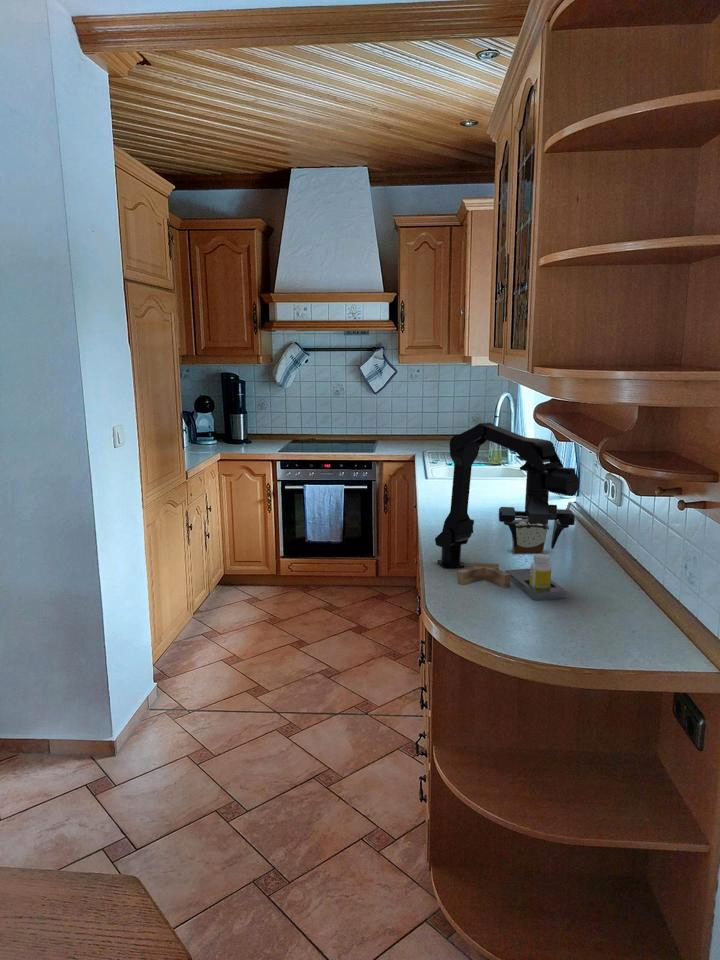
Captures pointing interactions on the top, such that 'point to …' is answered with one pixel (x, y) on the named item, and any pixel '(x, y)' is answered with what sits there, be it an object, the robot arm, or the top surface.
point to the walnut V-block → (484, 574)
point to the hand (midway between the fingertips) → (533, 547)
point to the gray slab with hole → (522, 582)
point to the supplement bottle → (540, 572)
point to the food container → (529, 537)
